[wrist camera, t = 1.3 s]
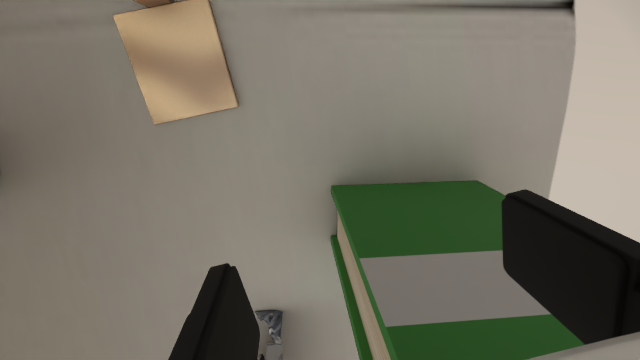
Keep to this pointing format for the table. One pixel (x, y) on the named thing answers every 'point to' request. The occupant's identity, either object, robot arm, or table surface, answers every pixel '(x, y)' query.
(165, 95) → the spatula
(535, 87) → the table surface
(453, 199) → the hardback book
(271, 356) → the meal
